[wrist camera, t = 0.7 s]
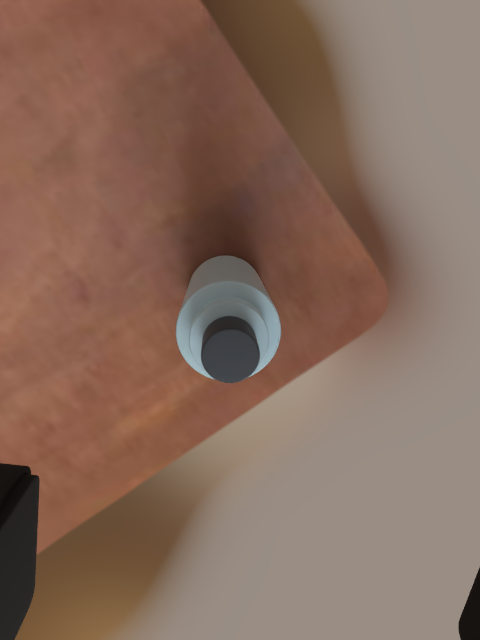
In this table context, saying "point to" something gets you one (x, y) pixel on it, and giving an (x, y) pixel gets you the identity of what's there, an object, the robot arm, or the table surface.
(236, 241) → the table surface
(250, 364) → the loose bottle
